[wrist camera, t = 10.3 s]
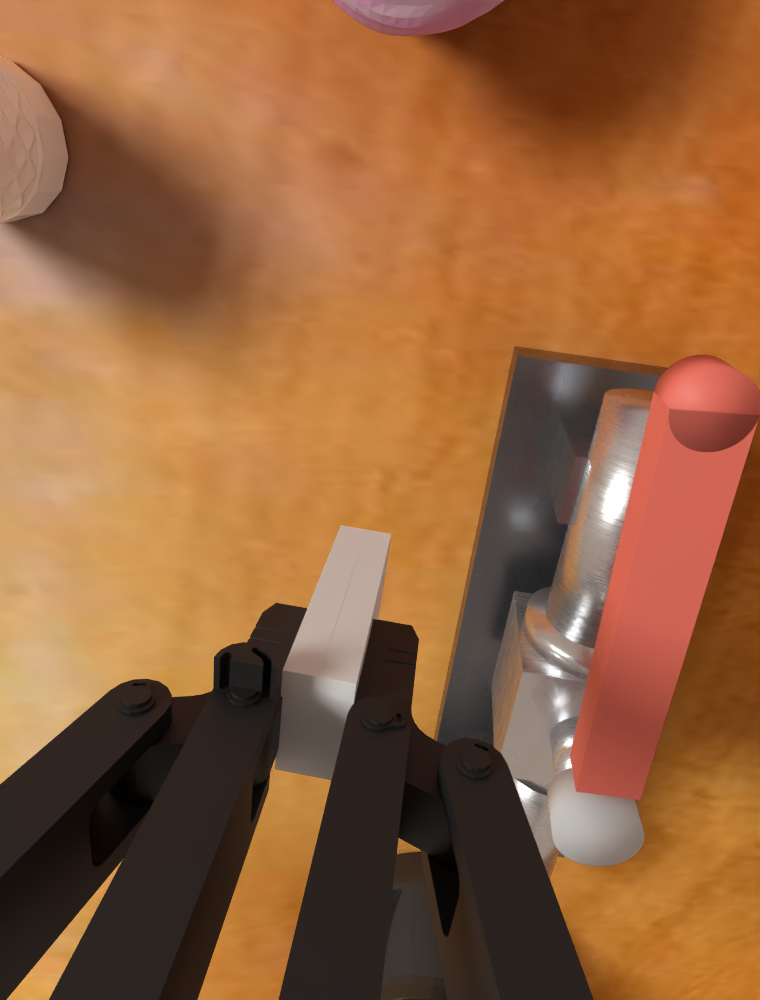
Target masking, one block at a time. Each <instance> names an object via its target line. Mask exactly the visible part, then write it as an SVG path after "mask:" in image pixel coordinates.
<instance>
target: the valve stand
mask: <svg viewBox="0 0 760 1000" xmlns="http://www.w3.org/2000/svg"><path fill="white" fill-rule="evenodd" d="M667 369H668V368H664V367H657V366H650V365H643V364H636V363H629V362H622V361H614V360H607V359H600V358H593V357H586V356H579V355H572V354H565V353H558V352H551V351H543V350H536V349H529V348H522V347H514V352H513V356H512V361H511V366H510V371H509V376H508V381H507V386H506V390H505V395H504V400H503V405H502V410H501V415H500V420H499V424H498V429H497V434H496V439H495V444H494V449H493V454H492V459H491V463H490V468H489V473H488V478H487V483H486V488H485V493H484V497H483V502H482V507H481V512H480V517H479V522H478V527H477V532H476V536H475V541H474V546H473V551H472V556H471V561H470V566H469V570H468V575H467V580H466V585H465V590H464V595H463V600H462V605H461V609H460V614H459V619H458V624H457V629H456V634H455V639H454V643H453V648H452V653H451V658H450V663H449V668H448V673H447V678H446V682H445V687H444V692H443V697H442V702H441V707H440V712H439V716H438V721H437V726H436V731H435V736H434V740H435V741H437V742H439V743H441V744H444V745H447V744H449V743H451V742H452V741H454V740H456V739H462V738H472V739H478V740H481V741H483V742H486V743H488V744H490V745H492V746H493V747H494V748H495V749H497V750H498V751H499V752H500V753H501V754H502V756H503V757H504V759H505V760H506V762H507V764H508V767H509V769H510V772H511V775H512V778H513V780H514V783H515V786H516V789H517V791H518V794H519V797H520V800H521V802H522V805H523V808H524V811H525V813H526V816H527V819H528V821H529V824H530V827H531V830H532V832H533V835H534V838H535V841H536V843H537V846H538V849H539V852H540V854H541V857H542V860H543V863H544V865H545V868H546V871H547V874H548V876H549V879H550V876H551V874H552V871H553V868H554V865H555V863H556V860H557V857H558V856H559V857H564V855H563V854H562V853H561V852H560V851H559V850H558V849H557V848H556V846H555V844H554V842H553V837H552V829H551V821H550V813H549V805H548V798H547V791H548V787H549V784H550V783H551V781H552V780H553V779H554V778H555V777H556V776H557V775H558V774H559V773H561V772H563V771H564V770H567V769H569V768H572V766H571V761H570V752H571V748H572V744H573V739H574V735H575V731H576V726H577V722H578V718H579V713H580V709H581V705H582V700H583V696H584V692H585V687H586V683H587V679H588V674H589V670H590V666H591V661H592V657H593V653H594V648H595V644H596V640H597V635H598V631H599V627H600V622H601V618H602V614H603V609H604V605H605V601H606V596H607V592H608V588H609V583H610V579H611V575H612V570H613V566H614V562H615V557H616V553H617V549H618V544H619V540H620V536H621V531H622V527H623V523H624V518H625V514H626V510H627V505H628V501H629V497H630V492H631V488H632V484H633V479H634V475H635V471H636V466H637V462H638V458H639V453H640V449H641V445H642V440H643V436H644V432H645V427H646V423H647V419H648V414H649V410H650V406H651V401H652V397H653V393H654V389H655V386H656V384H657V382H658V380H659V378H660V377H661V375H662V374H663V373H664V372H665V371H666V370H667Z"/></svg>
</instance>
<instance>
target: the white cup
mask: <svg viewBox="0 0 760 1000" xmlns="http://www.w3.org/2000/svg"><path fill="white" fill-rule="evenodd" d="M67 163H68V152H67V147H66V142H65V137H64V132H63V126H62V121H61V119H60V117H59V115H58V113H57V112H56V110H55V108H54V107H53V105H52V103H51V101H50V100H49V98H48V96H47V95H46V93H45V91H44V89H43V88H42V86H41V85H40V84H39V83H38V82H37V81H36V80H35V79H33V78H32V77H31V76H30V75H28V74H27V73H26V72H25V71H24V70H22V69H21V68H20V67H19V66H17V65H16V64H15V63H14V62H13V61H11V60H10V59H8V58H5V57H3V56H0V223H3V222H11V221H17V220H20V219H24V218H27V217H31V216H34V215H37V214H41V213H43V212H44V211H45V210H46V209H47V208H48V206H49V205H50V204H51V203H52V202H53V200H54V199H55V198H56V197H57V196H58V195H59V193H60V192H61V191H62V187H63V182H64V178H65V173H66V168H67Z"/></svg>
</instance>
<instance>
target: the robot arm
mask: <svg viewBox="0 0 760 1000" xmlns="http://www.w3.org/2000/svg"><path fill="white" fill-rule="evenodd" d="M390 540H391V534H389V533H383V532H377V531H371V530H366V529H360V528H354V527H348V526H342V525H341V526H340V529H339V531H338V534H337V536H336V539H335V541H334V544H333V546H332V549H331V551H330V554H329V556H328V559H327V561H326V564H325V566H324V569H323V571H322V574H321V576H320V579H319V581H318V584H317V586H316V589H315V591H314V593H313V596H312V598H311V601H310V603H309V606H308V608H302V607H296V606H291V605H285V604H280V603H275V604H274V605H272V606H271V607H270V608H268V609H267V610H266V611H264V612H263V613H262V615H261V617H260V618H259V620H258V622H257V624H256V627H255V628H254V630H253V632H252V634H251V636H250V639H249V640H248V642H247V643H244V642H243V643H238V644H232V645H230V646H228V647H226V648H224V649H222V650H220V651H219V652H218V653H217V655H216V656H215V657H214V688H213V690H212V691H211V692H208V693H205V694H202V695H196V696H185V697H172V694H171V693H170V691H169V689H168V687H167V686H165V685H163V684H162V683H160V682H159V681H154V680H150V679H136V680H131V681H128V682H125V683H121V684H120V685H118V686H116V687H115V688H113V689H112V690H110V691H109V692H108V693H107V694H105V695H104V696H103V697H102V698H101V699H100V700H98V701H97V702H96V703H95V704H94V705H93V706H91V707H90V708H89V709H88V710H87V711H86V712H84V713H83V714H82V715H81V716H80V717H79V718H77V719H76V720H75V721H74V722H73V723H72V724H70V725H69V726H68V727H67V728H66V729H65V730H63V731H62V732H61V733H60V734H59V735H58V736H56V737H55V738H54V739H53V740H52V741H51V742H49V743H48V744H47V745H46V746H45V747H44V748H42V749H41V750H40V751H39V752H38V753H36V754H35V755H34V756H33V757H32V758H31V759H29V760H28V761H27V762H26V763H25V764H24V765H22V766H21V767H20V768H19V769H18V770H17V771H15V772H14V773H13V774H12V775H11V776H10V777H8V778H7V779H6V780H5V781H4V782H3V783H1V784H0V1000H6V999H7V998H8V997H9V996H10V995H11V993H12V992H13V991H14V990H15V989H16V987H17V986H18V985H19V984H20V983H21V981H22V980H23V979H24V978H25V976H26V975H27V974H28V973H29V972H30V970H31V969H32V968H33V967H34V966H35V964H36V963H37V962H38V961H39V960H40V958H41V957H42V956H43V955H44V954H45V952H46V951H47V950H48V949H49V948H50V946H51V945H52V944H53V943H54V942H55V940H56V939H57V938H58V937H59V936H60V934H61V933H62V932H63V931H64V930H65V928H66V927H67V926H68V925H69V923H70V922H71V921H72V920H73V919H74V917H75V916H76V915H77V914H78V913H79V911H80V910H81V909H82V908H83V907H84V905H85V904H86V903H87V902H88V901H89V899H90V898H91V897H92V896H93V895H94V893H95V892H96V891H97V890H98V889H99V887H100V886H101V885H102V884H103V883H104V881H105V880H106V879H107V878H108V876H109V875H110V874H111V873H112V872H113V870H114V869H115V868H116V867H117V866H118V864H119V863H120V862H121V861H122V860H123V861H122V863H121V864H120V866H119V868H118V870H117V872H116V874H115V876H114V878H113V880H112V882H111V883H110V885H109V887H108V889H107V891H106V893H105V895H104V897H103V899H102V900H101V902H100V904H99V906H98V908H97V910H96V912H95V914H94V916H93V917H92V919H91V921H90V923H89V925H88V927H87V929H86V931H85V933H84V934H83V936H82V938H81V940H80V942H79V944H78V946H77V948H76V950H75V952H74V953H73V955H72V957H71V959H70V961H69V963H68V965H67V967H66V969H65V970H64V972H63V974H62V976H61V978H60V980H59V982H58V984H57V986H56V987H55V989H54V991H53V993H52V995H51V997H50V999H49V1000H197V999H198V996H199V993H200V990H201V987H202V985H203V982H204V979H205V976H206V973H207V970H208V967H209V964H210V961H211V958H212V955H213V952H214V949H215V946H216V943H217V940H218V937H219V934H220V931H221V929H222V926H223V923H224V920H225V917H226V914H227V911H228V908H229V905H230V902H231V899H232V896H233V893H234V890H235V887H236V884H237V881H238V878H239V876H240V873H241V870H242V867H243V864H244V861H245V858H246V855H247V852H248V849H249V846H250V843H251V840H252V837H253V834H254V831H255V828H256V825H257V823H258V820H259V817H260V814H261V811H262V808H263V805H264V802H265V799H266V796H267V793H268V790H269V779H270V771H271V768H272V765H273V762H274V760H275V757H276V762H275V769H277V770H282V771H287V772H293V773H298V774H303V775H308V776H313V777H318V778H324V779H329V780H332V781H331V785H330V789H329V793H328V797H327V801H326V805H325V810H324V814H323V818H322V822H321V826H320V830H319V835H318V839H317V843H316V847H315V851H314V855H313V859H312V864H311V868H310V872H309V876H308V880H307V884H306V888H305V893H304V897H303V901H302V905H301V909H300V913H299V918H298V922H297V926H296V930H295V934H294V938H293V942H292V947H291V951H290V955H289V959H288V963H287V967H286V971H285V976H284V980H283V984H282V988H281V992H280V996H279V1000H593V997H592V994H591V992H590V989H589V986H588V983H587V981H586V978H585V975H584V972H583V970H582V967H581V964H580V961H579V959H578V956H577V953H576V951H575V948H574V945H573V942H572V940H571V937H570V934H569V931H568V929H567V926H566V923H565V920H564V918H563V915H562V912H561V909H560V907H559V904H558V901H557V898H556V896H555V893H554V890H553V887H552V885H551V882H550V879H549V876H548V874H547V871H546V868H545V865H544V863H543V860H542V857H541V854H540V852H539V849H538V846H537V843H536V841H535V838H534V835H533V832H532V830H531V827H530V824H529V821H528V819H527V816H526V813H525V811H524V808H523V805H522V802H521V800H520V797H519V794H518V791H517V789H516V786H515V783H514V780H513V778H512V775H511V772H510V769H509V767H508V764H507V762H506V760H505V759H504V757H503V756H502V754H501V753H500V752H499V751H498V750H497V749H495V748H494V747H493V746H492V745H490V744H488V743H486V742H483V741H481V740H478V739H472V738H462V739H456V740H454V741H452V742H451V743H449V744H447V745H444V744H441V743H439V742H437V741H435V740H433V739H432V738H430V737H428V736H427V735H425V734H424V733H423V732H422V731H421V730H420V729H419V728H418V727H417V725H416V724H415V722H414V720H413V717H412V713H411V705H412V696H413V687H414V678H415V669H416V660H417V651H418V642H419V639H418V637H417V635H416V633H415V631H414V629H413V627H412V626H411V625H405V624H400V623H394V622H388V621H383V620H378V617H379V612H380V606H381V599H382V592H383V586H384V579H385V573H386V566H387V559H388V553H389V546H390ZM398 838H400V839H402V840H404V841H406V842H408V843H409V844H411V845H413V846H415V847H417V848H419V849H421V853H407V854H400V855H397V846H398ZM123 858H124V859H123Z"/></svg>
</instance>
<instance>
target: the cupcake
mask: <svg viewBox="0 0 760 1000" xmlns="http://www.w3.org/2000/svg"><path fill="white" fill-rule="evenodd" d="M333 1H334V2H335V3H336V4H337V5H338V6H339V7H340V8H341V9H342V10H343V11H344V12H345V13H347V14H348V15H349V16H350V17H352V18H353V19H354V20H356V21H357V22H359V23H361V24H362V25H364V26H365V27H367V28H370V29H372V30H374V31H377V32H379V33H384V34H388V35H397V36H419V35H429V34H436V33H441V32H446V31H449V30H452V29H456V28H459V27H461V26H463V25H465V24H467V23H468V22H470V21H472V20H474V19H476V18H478V17H480V16H481V15H483V14H485V13H487V12H489V11H490V10H492V9H493V8H494V7H496V6H497V5H499V4H500V3H501V2H503V1H504V0H333Z"/></svg>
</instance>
